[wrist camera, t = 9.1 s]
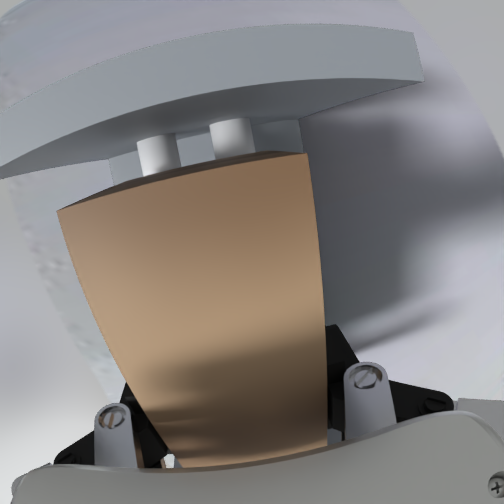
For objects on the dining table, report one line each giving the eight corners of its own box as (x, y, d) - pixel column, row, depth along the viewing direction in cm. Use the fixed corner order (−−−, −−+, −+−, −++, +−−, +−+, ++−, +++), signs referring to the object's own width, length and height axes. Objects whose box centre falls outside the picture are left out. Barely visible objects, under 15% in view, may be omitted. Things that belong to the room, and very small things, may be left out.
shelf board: (126, 180, 10) (56, 210, 5) (266, 150, 10) (307, 152, 5) (216, 436, 15) (219, 510, 10) (303, 420, 15) (325, 493, 10)
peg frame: (322, 365, 22) (376, 492, 11) (187, 390, 22) (178, 525, 11) (292, 100, 16) (413, 32, 4) (108, 139, 15) (-45, 145, 4)
